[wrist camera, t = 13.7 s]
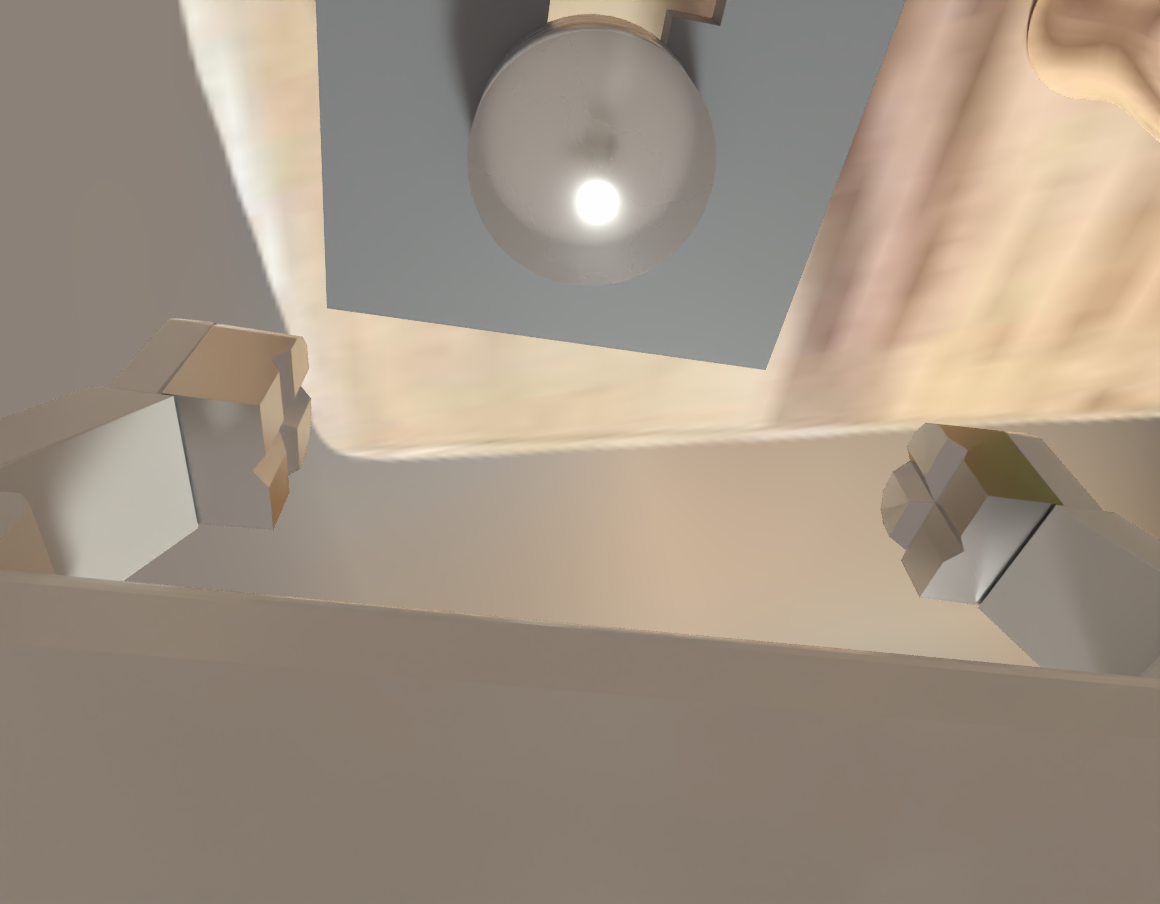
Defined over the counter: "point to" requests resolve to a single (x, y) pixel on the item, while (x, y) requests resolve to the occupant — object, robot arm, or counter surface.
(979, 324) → the counter surface
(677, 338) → the keyhole stand
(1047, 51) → the beer glass
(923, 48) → the counter surface
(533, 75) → the steel peg
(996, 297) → the counter surface
